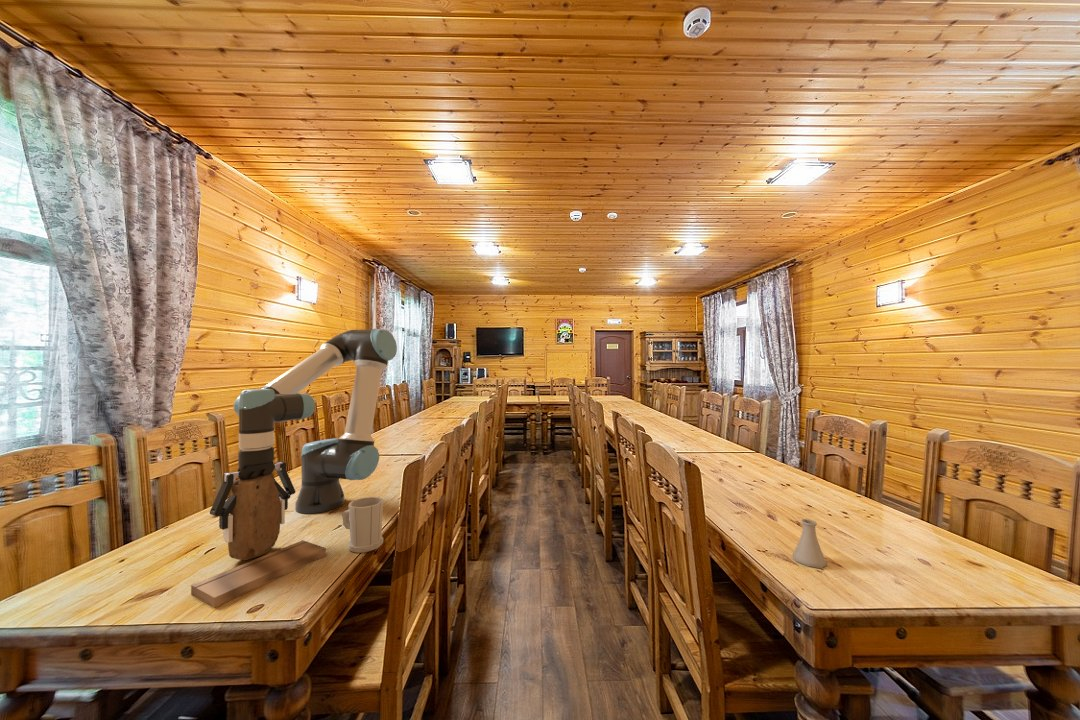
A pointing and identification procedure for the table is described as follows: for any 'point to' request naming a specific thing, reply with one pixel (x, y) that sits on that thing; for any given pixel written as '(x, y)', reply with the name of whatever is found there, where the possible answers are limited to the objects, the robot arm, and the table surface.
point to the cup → (364, 524)
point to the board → (256, 573)
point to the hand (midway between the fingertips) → (255, 531)
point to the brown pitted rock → (254, 517)
